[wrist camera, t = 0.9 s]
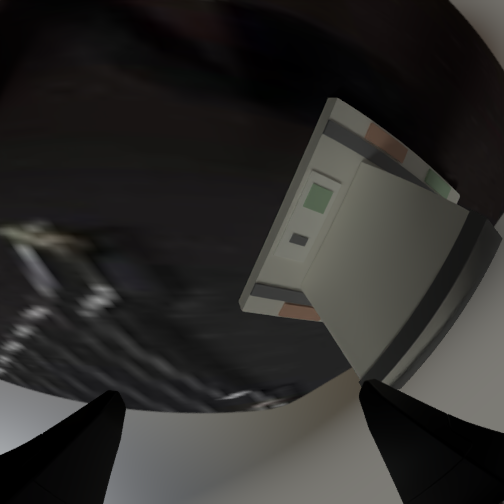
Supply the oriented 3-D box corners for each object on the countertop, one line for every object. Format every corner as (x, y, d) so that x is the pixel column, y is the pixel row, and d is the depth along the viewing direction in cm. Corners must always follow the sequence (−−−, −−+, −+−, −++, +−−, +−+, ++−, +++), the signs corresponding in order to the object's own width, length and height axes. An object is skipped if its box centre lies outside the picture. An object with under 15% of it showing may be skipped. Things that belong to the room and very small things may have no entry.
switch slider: (298, 288, 20) (367, 395, 12) (360, 160, 17) (487, 218, 8) (330, 294, 22) (400, 388, 13) (390, 178, 18) (502, 238, 9)
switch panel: (238, 301, 21) (242, 313, 20) (328, 98, 15) (340, 97, 14) (380, 320, 28) (387, 329, 26) (451, 191, 22) (462, 196, 21)
